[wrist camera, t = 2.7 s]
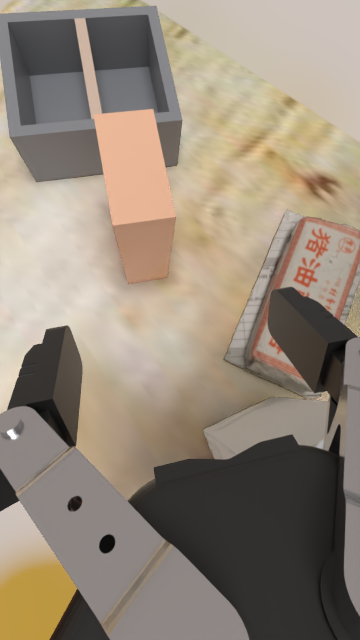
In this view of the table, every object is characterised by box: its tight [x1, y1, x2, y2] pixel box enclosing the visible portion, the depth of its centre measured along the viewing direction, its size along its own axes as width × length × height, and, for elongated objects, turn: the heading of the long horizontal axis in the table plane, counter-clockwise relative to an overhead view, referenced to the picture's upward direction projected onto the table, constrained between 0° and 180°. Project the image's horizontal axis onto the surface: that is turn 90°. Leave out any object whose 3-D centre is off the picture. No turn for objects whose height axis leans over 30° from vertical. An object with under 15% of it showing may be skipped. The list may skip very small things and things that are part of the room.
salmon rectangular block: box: [93, 109, 176, 284], centre depth 25 cm, size 4×8×12 cm, turn 11°
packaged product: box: [224, 209, 360, 400], centre depth 30 cm, size 18×5×10 cm
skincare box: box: [203, 397, 328, 459], centre depth 21 cm, size 8×6×15 cm
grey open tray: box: [0, 6, 182, 182], centre depth 30 cm, size 15×13×6 cm
